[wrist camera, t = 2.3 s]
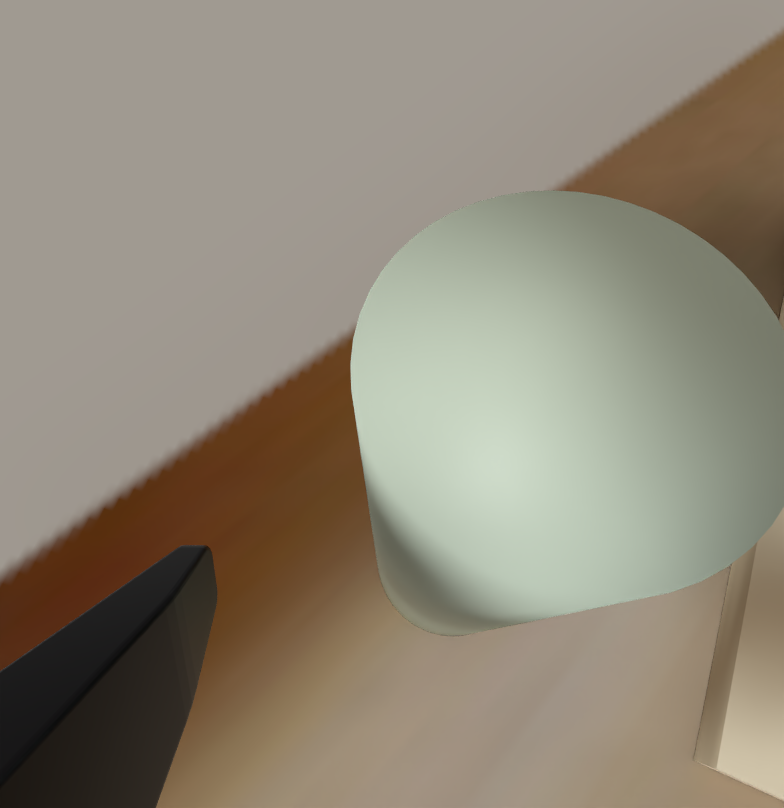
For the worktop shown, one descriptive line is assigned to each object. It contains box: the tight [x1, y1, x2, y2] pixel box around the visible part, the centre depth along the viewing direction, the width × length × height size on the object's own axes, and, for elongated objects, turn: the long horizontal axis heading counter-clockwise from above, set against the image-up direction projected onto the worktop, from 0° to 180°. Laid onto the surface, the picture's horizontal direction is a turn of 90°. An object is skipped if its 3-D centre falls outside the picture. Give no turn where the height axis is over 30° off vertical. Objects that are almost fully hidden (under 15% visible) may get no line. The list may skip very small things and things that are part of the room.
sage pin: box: [351, 191, 784, 636], centre depth 12 cm, size 4×4×13 cm
